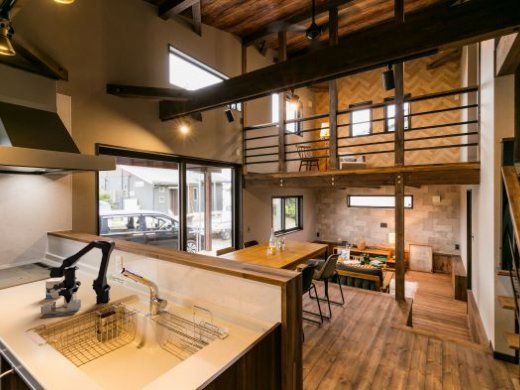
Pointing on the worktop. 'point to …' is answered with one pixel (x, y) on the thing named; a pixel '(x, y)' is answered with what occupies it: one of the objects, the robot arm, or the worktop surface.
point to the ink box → (49, 288)
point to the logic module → (74, 297)
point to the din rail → (59, 309)
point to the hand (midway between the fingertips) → (70, 301)
